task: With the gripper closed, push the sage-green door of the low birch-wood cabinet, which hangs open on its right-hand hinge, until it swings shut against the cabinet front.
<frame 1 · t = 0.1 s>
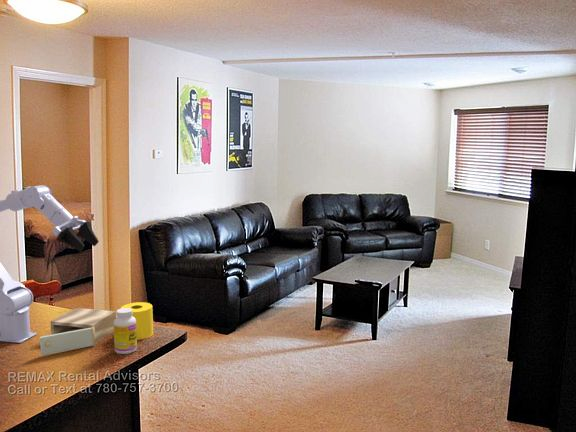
hand: (89, 246, 165), 32 cm above the kitchen counter, tool tilted 50°, fingers open, 7 cm apart
yellow toilet paper roll: (137, 334, 180), on the kitchen counter
door: (68, 341, 165), point 3 cm above the kitchen counter, hinge at 45.0°
cabinet: (84, 335, 179), on the kitchen counter
supplement bottle: (126, 351, 167), on the kitchen counter
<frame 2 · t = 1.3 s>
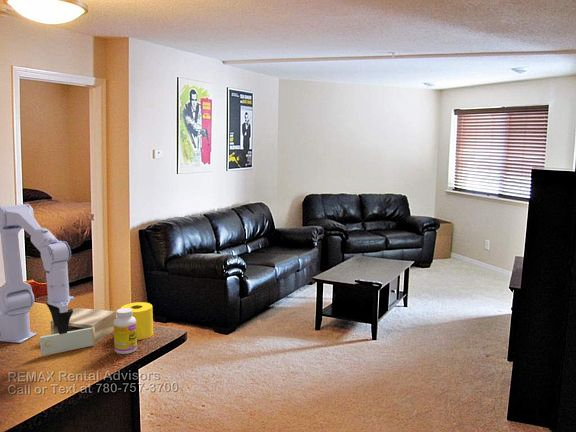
hand: (60, 329, 158), 9 cm above the kitchen counter, tool pointing down, fingers open, 7 cm apart
nothing on the kitchen counter moved.
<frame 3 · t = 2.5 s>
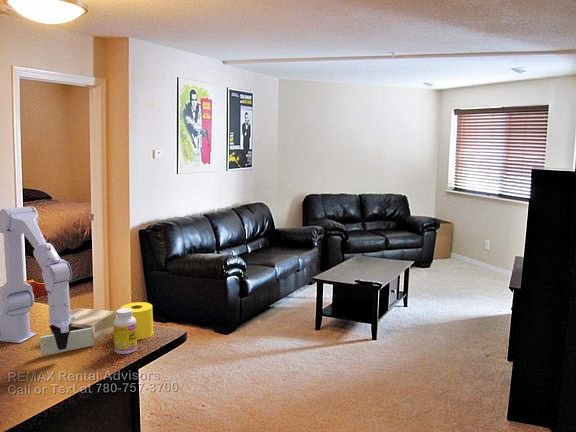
hand: (62, 348, 159), 4 cm above the kitchen counter, tool pointing down, fingers closed
nothing on the kitchen counter moved.
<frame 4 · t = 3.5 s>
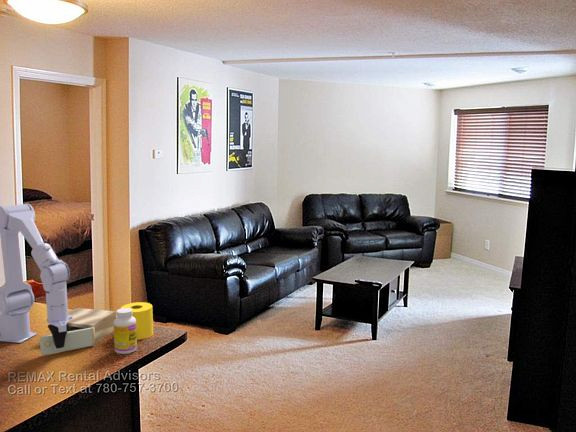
hand: (59, 347, 163), 2 cm above the kitchen counter, tool pointing down, fingers closed
door: (68, 341, 165), point 3 cm above the kitchen counter, hinge at 44.2°, touching gripper
everything else where it was.
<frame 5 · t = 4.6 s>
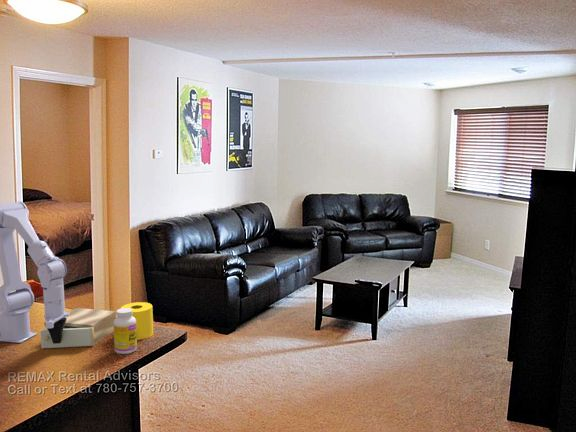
hand: (57, 342, 166), 2 cm above the kitchen counter, tool pointing down, fingers closed
door: (67, 338, 168), point 3 cm above the kitchen counter, hinge at 21.1°, touching gripper
everything else where it was.
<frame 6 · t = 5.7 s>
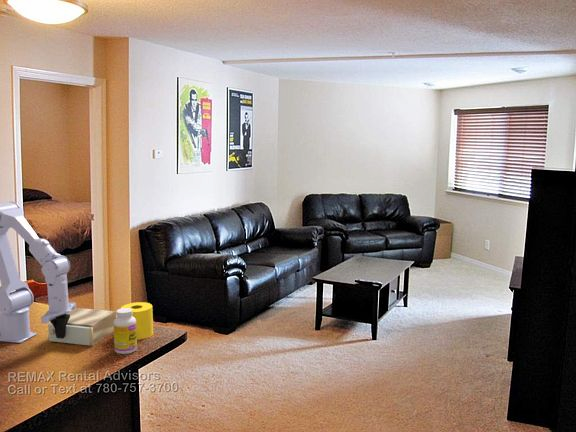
hand: (60, 337, 170), 2 cm above the kitchen counter, tool pointing down, fingers closed
door: (70, 334, 170), point 3 cm above the kitchen counter, hinge at -1.1°, touching gripper
everything else where it was.
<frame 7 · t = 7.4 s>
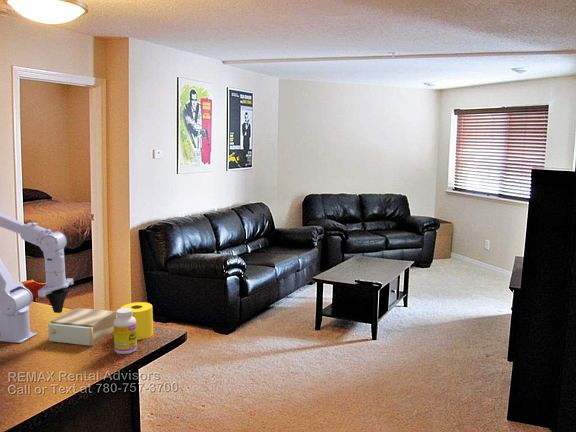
hand: (57, 312, 173), 9 cm above the kitchen counter, tool pointing down, fingers closed
door: (70, 334, 170), point 3 cm above the kitchen counter, hinge at -1.1°
everything else where it was.
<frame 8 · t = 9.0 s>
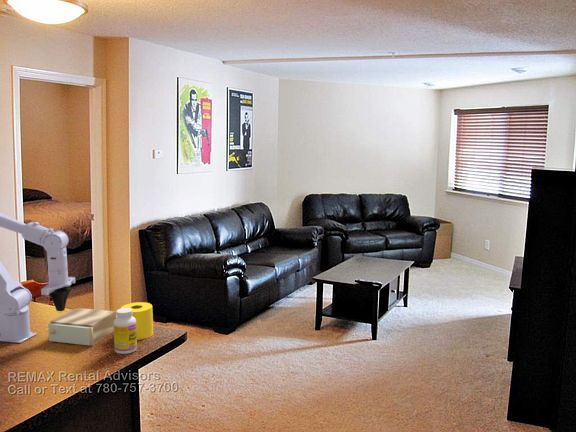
hand: (60, 310, 174), 9 cm above the kitchen counter, tool pointing down, fingers closed
nothing on the kitchen counter moved.
at the end: door at -1° (first picture: +45°) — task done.
